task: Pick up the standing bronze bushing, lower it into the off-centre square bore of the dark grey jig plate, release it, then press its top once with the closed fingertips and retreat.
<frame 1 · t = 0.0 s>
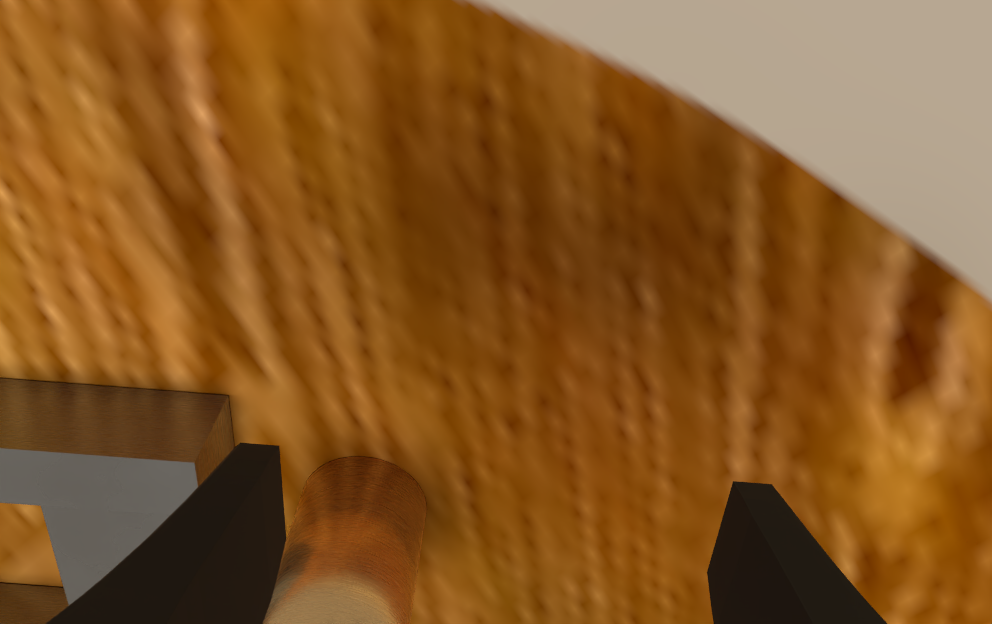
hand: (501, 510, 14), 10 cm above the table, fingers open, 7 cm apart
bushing: (364, 504, 27), on the table
jig: (43, 556, 29), on the table
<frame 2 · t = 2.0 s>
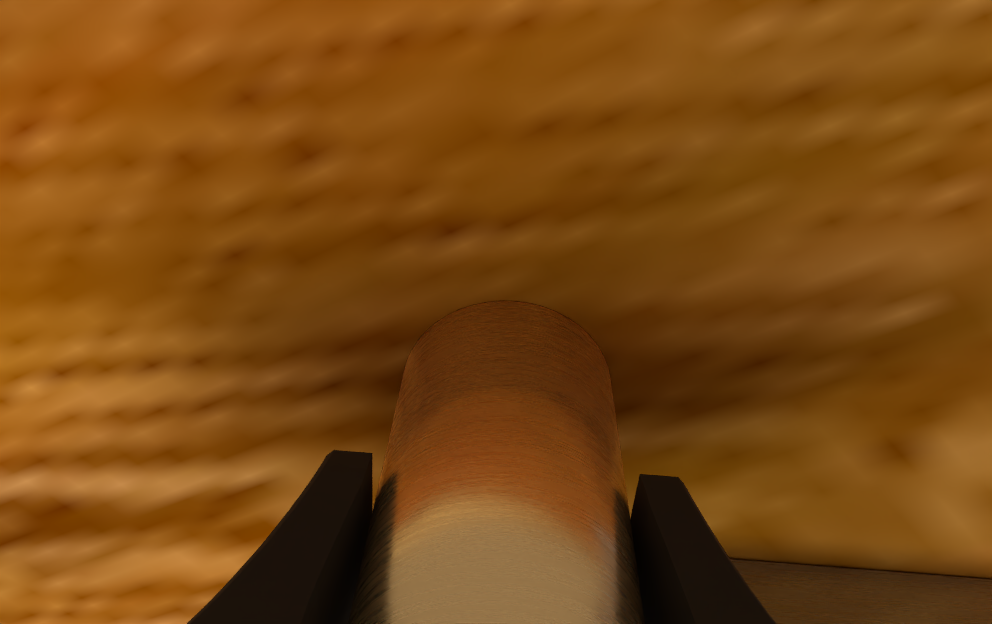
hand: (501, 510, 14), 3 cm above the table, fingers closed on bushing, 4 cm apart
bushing: (506, 390, 16), on the table, touching gripper
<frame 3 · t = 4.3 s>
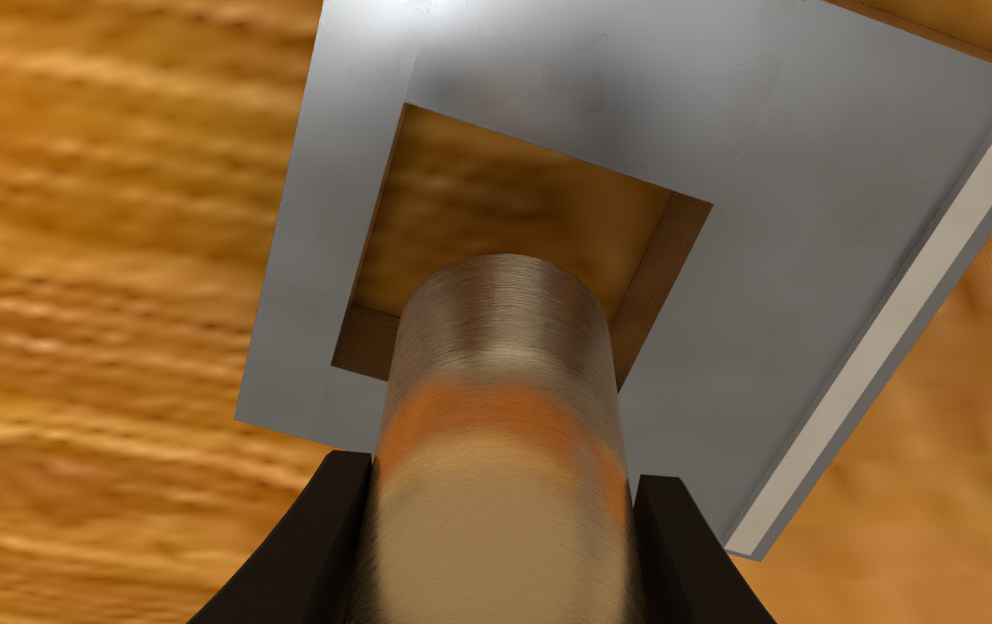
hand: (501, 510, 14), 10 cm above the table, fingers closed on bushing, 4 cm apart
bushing: (503, 342, 16), point 7 cm above the table, tilted 6°, touching gripper
jig: (597, 223, 22), on the table
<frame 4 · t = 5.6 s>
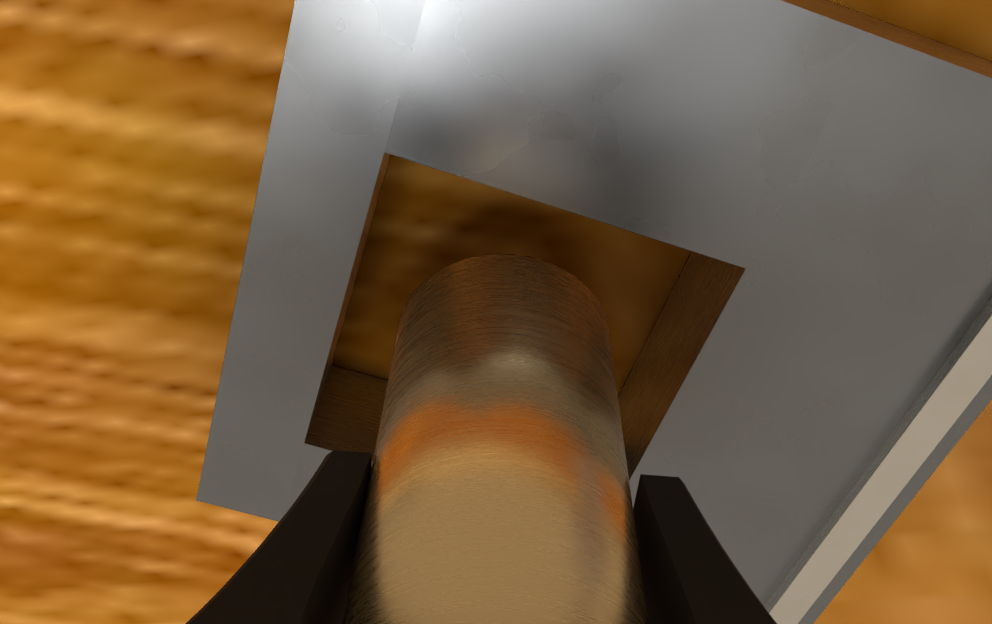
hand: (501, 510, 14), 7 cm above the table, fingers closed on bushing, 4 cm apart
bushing: (503, 342, 16), point 4 cm above the table, tilted 5°, touching gripper
jig: (608, 278, 20), on the table
when the fingers open (4 cm above the table, at t = 6.8 s): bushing stays where it is, resting in jig.
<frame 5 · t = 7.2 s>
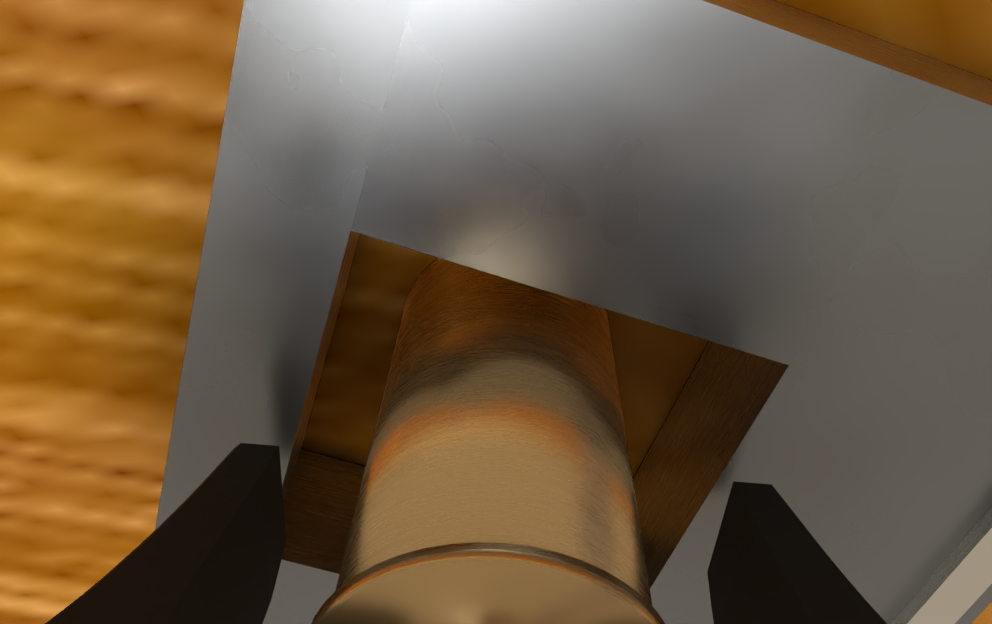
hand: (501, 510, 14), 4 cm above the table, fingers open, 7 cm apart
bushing: (504, 329, 17), resting in jig
jig: (619, 356, 17), on the table
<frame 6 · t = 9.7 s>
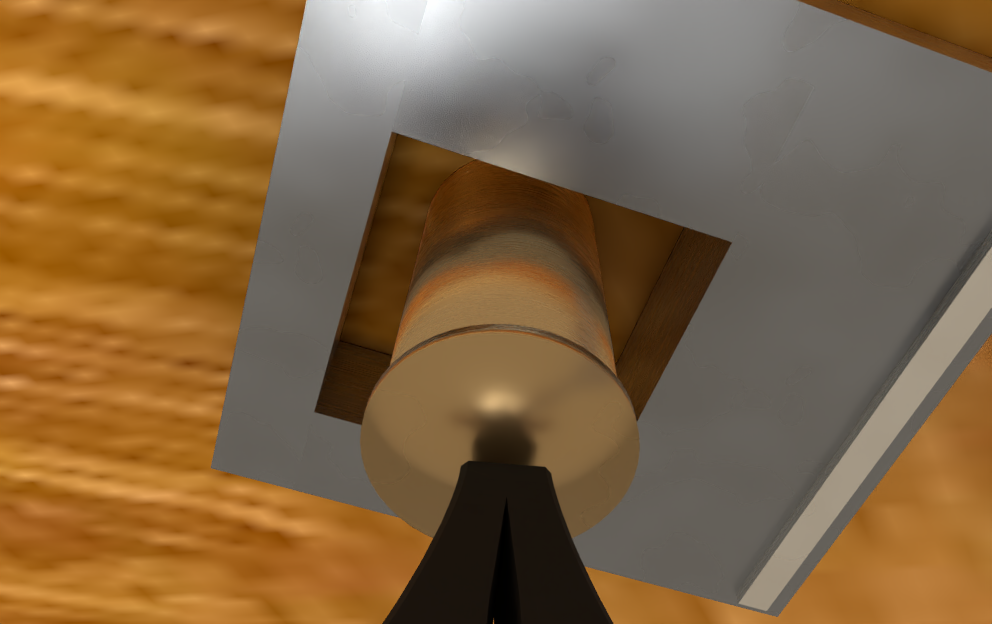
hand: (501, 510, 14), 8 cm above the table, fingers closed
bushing: (509, 233, 20), resting in jig
jig: (603, 256, 21), on the table
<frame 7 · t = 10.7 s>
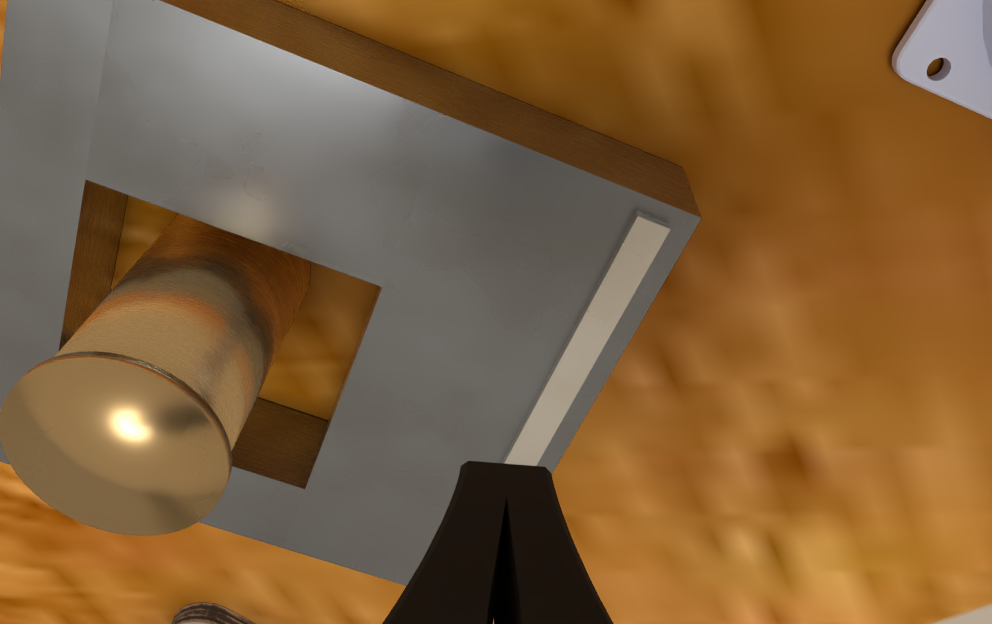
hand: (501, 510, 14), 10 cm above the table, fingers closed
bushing: (237, 262, 23), resting in jig
jig: (320, 287, 24), on the table
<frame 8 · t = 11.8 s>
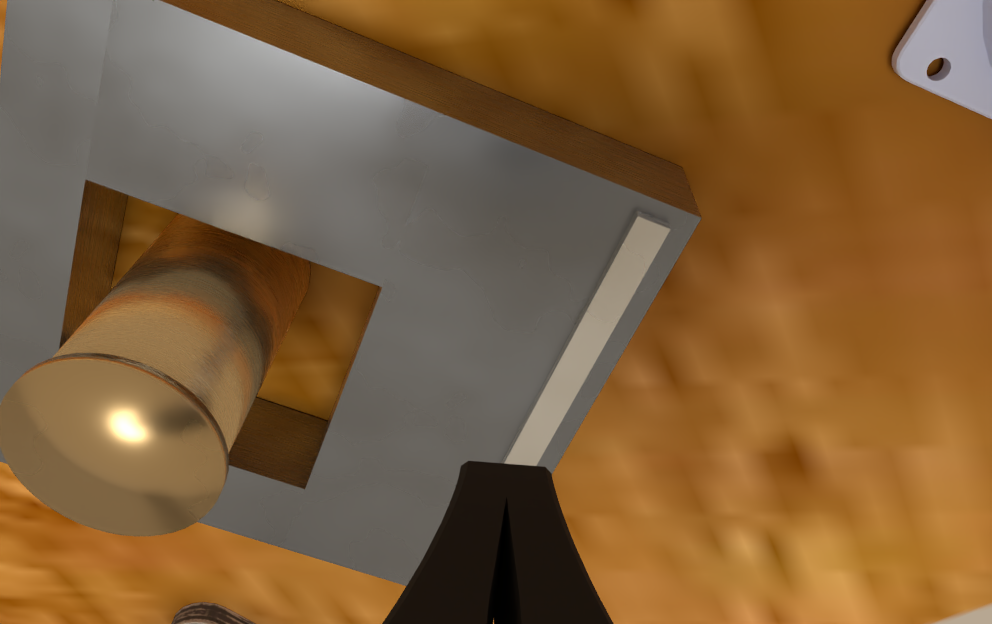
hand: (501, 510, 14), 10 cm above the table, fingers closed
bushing: (237, 262, 23), resting in jig
jig: (320, 287, 24), on the table
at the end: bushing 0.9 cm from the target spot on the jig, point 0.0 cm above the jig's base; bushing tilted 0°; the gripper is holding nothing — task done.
